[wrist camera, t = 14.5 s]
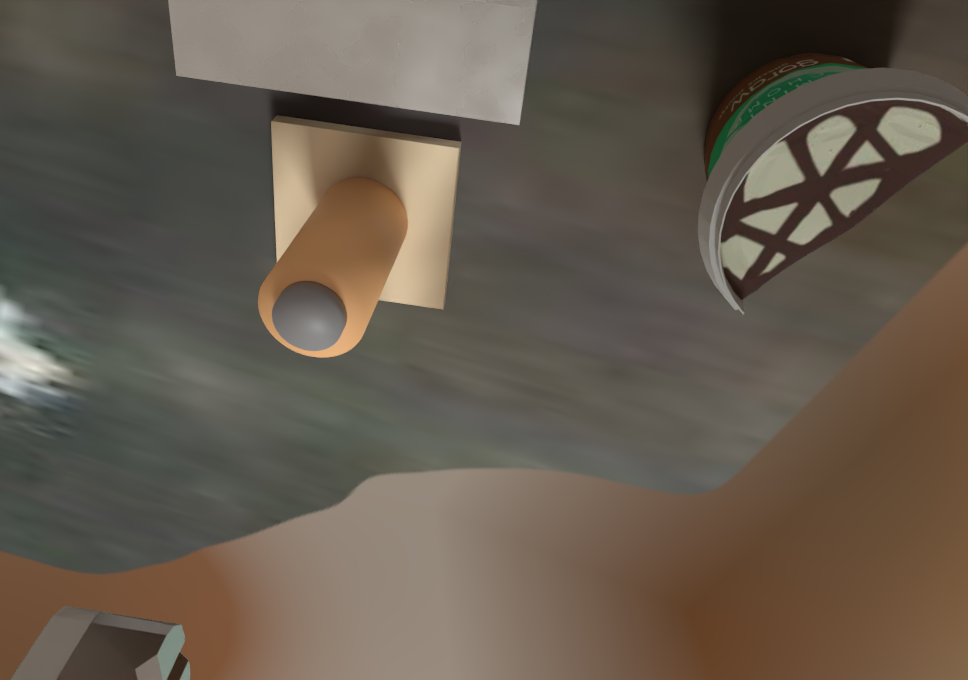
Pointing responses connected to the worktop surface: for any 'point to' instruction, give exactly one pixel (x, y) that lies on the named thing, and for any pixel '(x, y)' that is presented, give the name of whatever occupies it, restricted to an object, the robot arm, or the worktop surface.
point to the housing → (366, 50)
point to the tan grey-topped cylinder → (335, 269)
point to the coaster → (386, 159)
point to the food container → (813, 159)
